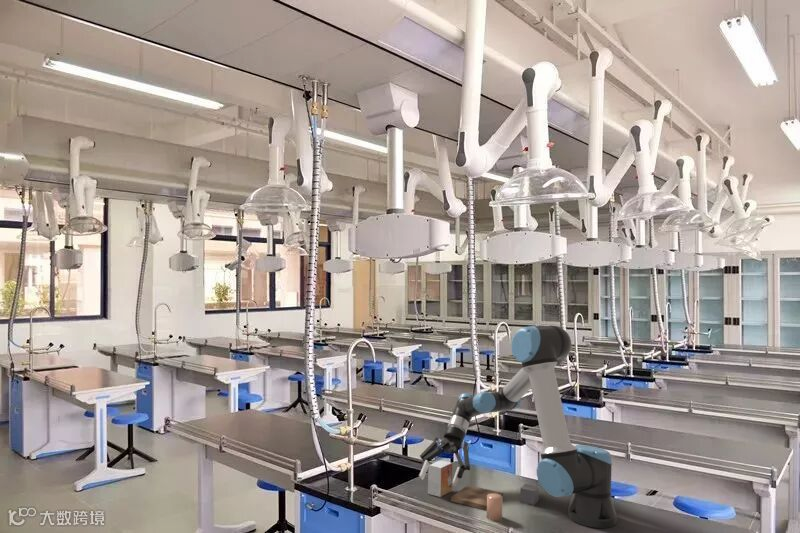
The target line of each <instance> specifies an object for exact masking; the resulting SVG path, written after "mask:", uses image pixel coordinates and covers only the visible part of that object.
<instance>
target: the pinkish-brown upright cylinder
mask: <svg viewBox="0 0 800 533" xmlns="http://www.w3.org/2000/svg"><path fill="white" fill-rule="evenodd" d="M487 518H488V520H489V519H490V520H489V521H491V520H495V521H494V522H498V521H499V520H500V521H502V520H503V498H502V496H501V495H499V494H495V493H492V494H488V495H487V510H486V519H487Z"/></svg>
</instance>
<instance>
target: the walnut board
mask: <svg viewBox="0 0 800 533" xmlns="http://www.w3.org/2000/svg"><path fill="white" fill-rule="evenodd" d="M492 493H495V494H499V495H501V496H502V499H504V492H499V491H495V490H491V489H487V488H482V487H479V486H475V485H470V484H467V485H466V486H464V487H463V488H462V489H460V490H459V491H458V492H456V493H455V494H453V495H451V497H450V502H452V503H456V504H460V505H464V506H469V507H471V508H472V507H473V508H476V509H480V510H484V511H487V495H488V494H492Z"/></svg>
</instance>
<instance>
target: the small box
mask: <svg viewBox="0 0 800 533" xmlns="http://www.w3.org/2000/svg"><path fill="white" fill-rule="evenodd" d="M427 472H428V474H427V475H428V476H427V479H428V480H427V493H428V495H431V496H435V497H439V498H442V497H443V496H445V495H446V494H449V493H451V492H452V491H453V485H452V481H453V462H449V461H446V460H442V459H439V460H437V461H436V462H434V463H431V464H430V463H429V467H428V469H427Z"/></svg>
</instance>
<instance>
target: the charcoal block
mask: <svg viewBox="0 0 800 533" xmlns="http://www.w3.org/2000/svg"><path fill="white" fill-rule="evenodd" d="M539 490H540V486H537V485H532V484H527V483H525V484H523V485H522V486H521V487H520V495H519V496H520V497H519V498H520V499H519V500H520V501H519V502H520V503H523V504H526V503H527V504H526V505H530V504H531V506H536V504H537V503H539V501H540V500H539V498H540V495H539V494H540V491H539Z"/></svg>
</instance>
